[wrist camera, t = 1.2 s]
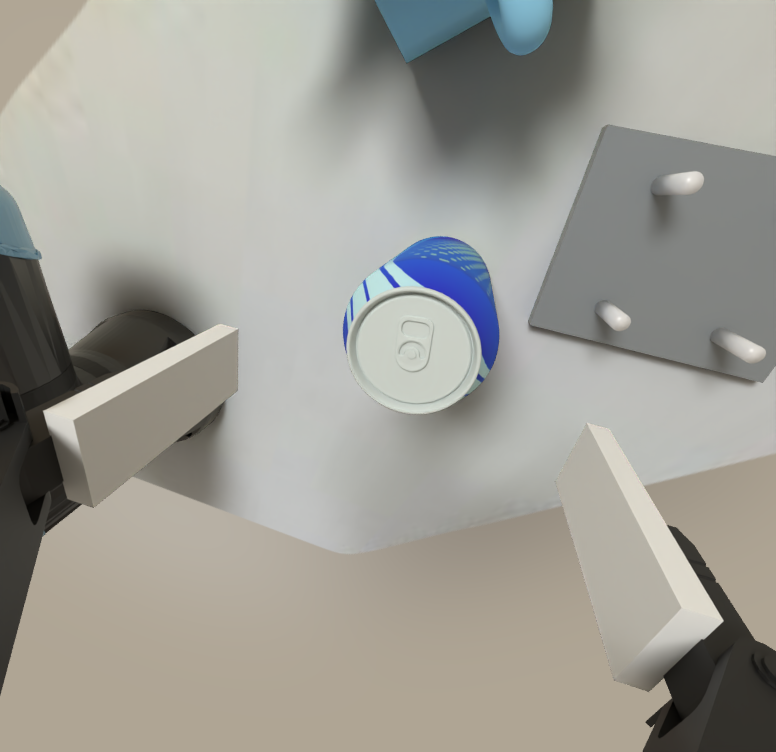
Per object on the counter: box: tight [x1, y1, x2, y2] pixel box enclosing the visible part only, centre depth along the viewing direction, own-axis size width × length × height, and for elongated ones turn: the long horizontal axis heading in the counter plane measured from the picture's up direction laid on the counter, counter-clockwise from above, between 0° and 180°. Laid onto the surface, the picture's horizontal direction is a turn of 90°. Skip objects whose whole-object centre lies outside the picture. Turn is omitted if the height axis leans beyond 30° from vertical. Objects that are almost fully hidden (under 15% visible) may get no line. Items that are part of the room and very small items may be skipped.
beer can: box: [343, 236, 499, 414], centre depth 25 cm, size 8×8×16 cm
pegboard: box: [528, 125, 776, 383], centre depth 25 cm, size 18×14×5 cm
